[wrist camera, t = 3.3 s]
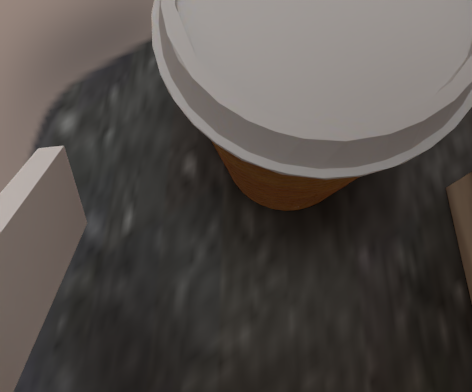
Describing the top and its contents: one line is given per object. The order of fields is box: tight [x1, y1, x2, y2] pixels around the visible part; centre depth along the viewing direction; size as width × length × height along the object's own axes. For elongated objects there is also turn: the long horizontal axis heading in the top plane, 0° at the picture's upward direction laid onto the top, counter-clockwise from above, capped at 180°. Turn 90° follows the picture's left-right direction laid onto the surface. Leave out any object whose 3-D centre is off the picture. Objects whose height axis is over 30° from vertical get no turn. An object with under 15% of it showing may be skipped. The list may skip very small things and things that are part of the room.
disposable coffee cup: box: [151, 0, 472, 211], centre depth 17 cm, size 10×10×12 cm
